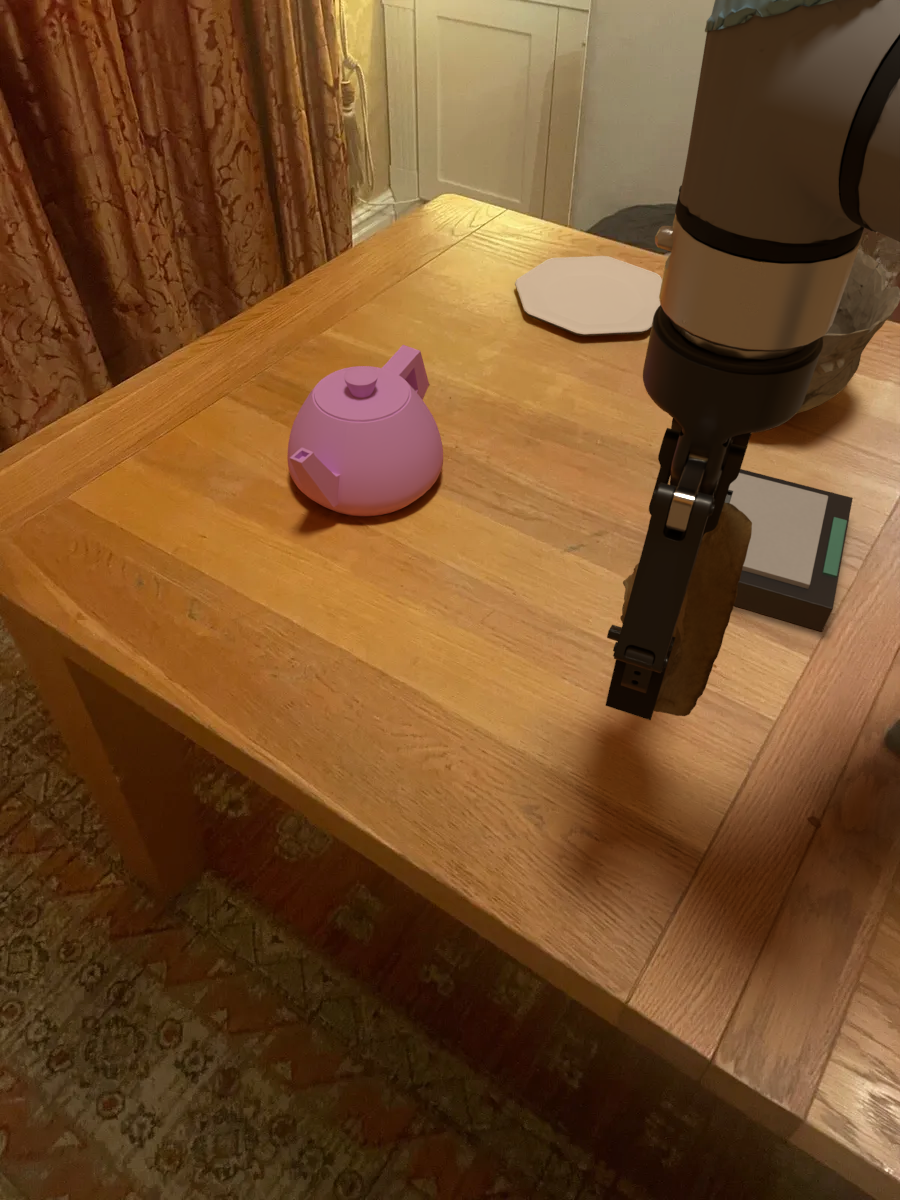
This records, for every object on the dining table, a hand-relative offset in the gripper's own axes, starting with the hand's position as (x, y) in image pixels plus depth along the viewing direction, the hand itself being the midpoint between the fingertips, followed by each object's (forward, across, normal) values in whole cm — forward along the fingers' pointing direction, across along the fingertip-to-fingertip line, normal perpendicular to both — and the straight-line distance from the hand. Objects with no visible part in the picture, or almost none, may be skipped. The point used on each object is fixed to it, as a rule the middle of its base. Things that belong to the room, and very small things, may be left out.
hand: (652, 642), depth 56 cm
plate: (+16, -70, -22) cm, 75 cm away
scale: (+17, -30, +5) cm, 35 cm away
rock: (+1, 0, 0) cm, 1 cm away
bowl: (+17, -56, +1) cm, 59 cm away
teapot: (+17, -26, -33) cm, 45 cm away
